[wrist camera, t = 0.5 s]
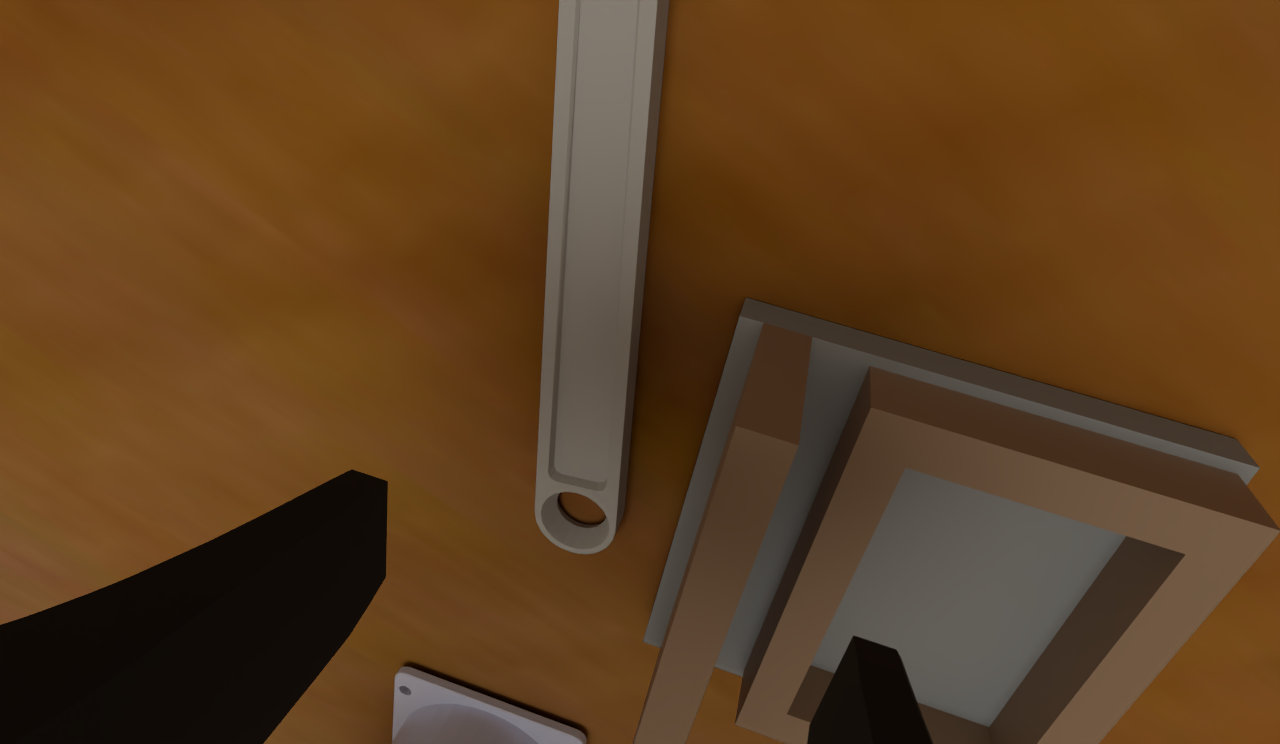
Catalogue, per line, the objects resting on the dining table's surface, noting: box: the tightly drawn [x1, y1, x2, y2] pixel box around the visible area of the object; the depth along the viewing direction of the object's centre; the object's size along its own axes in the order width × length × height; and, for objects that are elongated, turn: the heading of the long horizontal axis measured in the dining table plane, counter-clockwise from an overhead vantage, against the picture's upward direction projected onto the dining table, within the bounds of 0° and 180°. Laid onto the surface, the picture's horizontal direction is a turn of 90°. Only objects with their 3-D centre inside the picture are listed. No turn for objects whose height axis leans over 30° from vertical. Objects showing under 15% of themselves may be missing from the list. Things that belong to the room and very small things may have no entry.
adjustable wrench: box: [535, 0, 669, 554], centre depth 18 cm, size 25×6×2 cm, turn 170°
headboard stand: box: [633, 298, 1280, 744], centre depth 19 cm, size 12×12×6 cm
